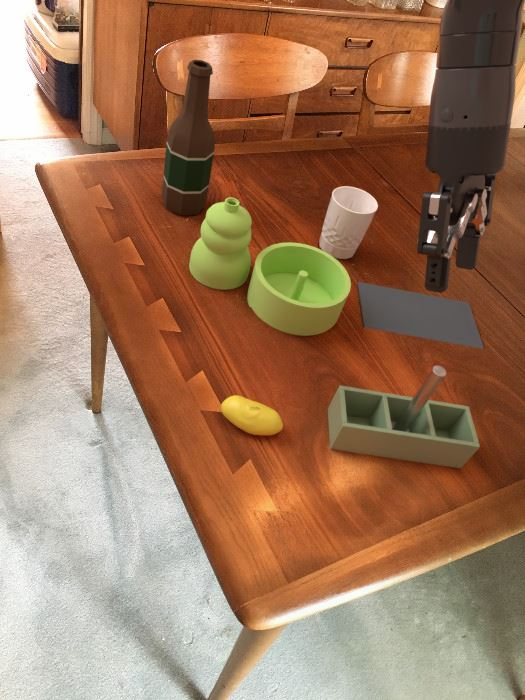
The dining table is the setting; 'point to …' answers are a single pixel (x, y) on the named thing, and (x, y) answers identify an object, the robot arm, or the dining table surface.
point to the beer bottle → (190, 147)
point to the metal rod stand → (419, 399)
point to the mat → (418, 315)
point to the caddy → (416, 445)
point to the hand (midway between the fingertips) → (451, 278)
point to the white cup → (346, 221)
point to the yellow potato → (251, 416)
